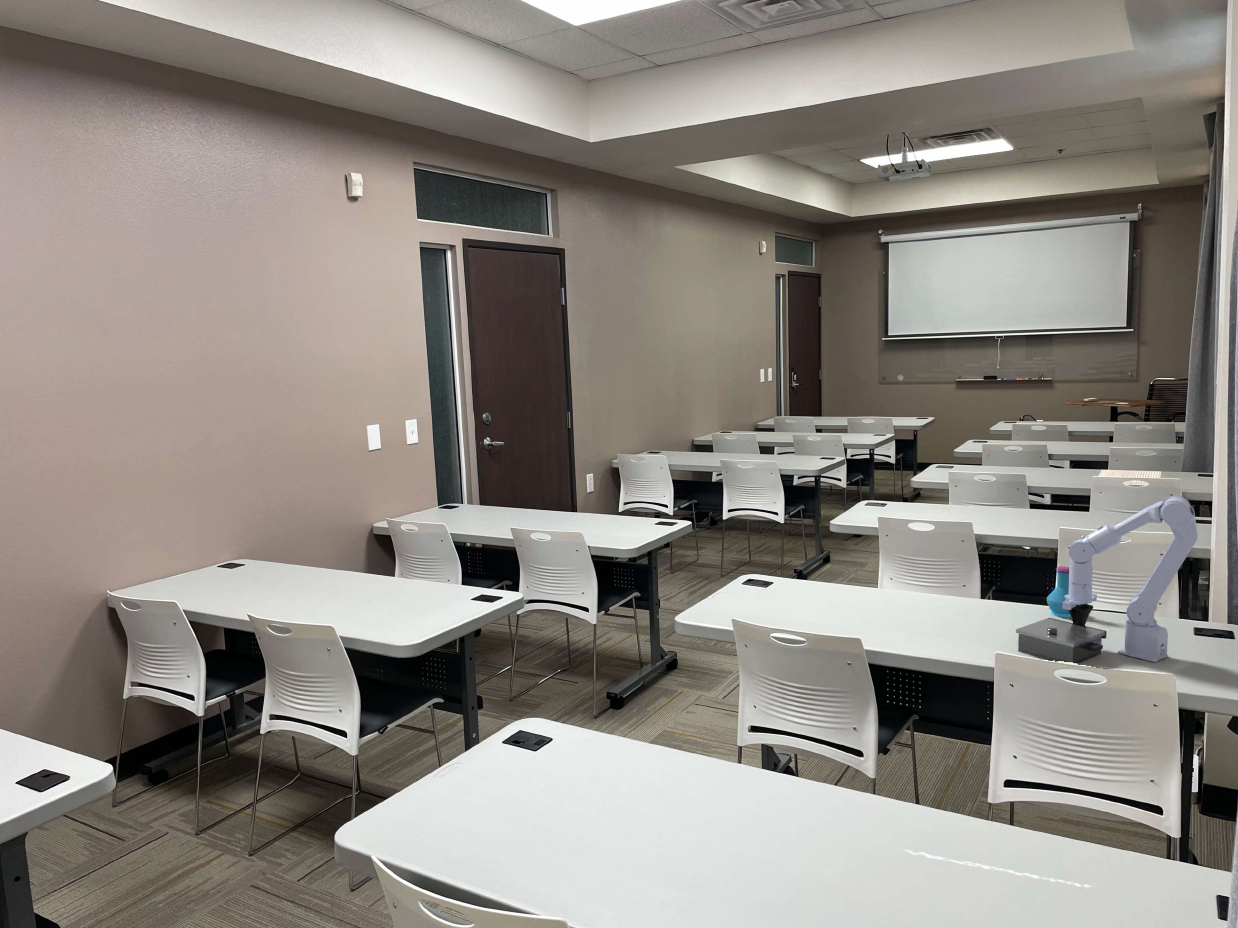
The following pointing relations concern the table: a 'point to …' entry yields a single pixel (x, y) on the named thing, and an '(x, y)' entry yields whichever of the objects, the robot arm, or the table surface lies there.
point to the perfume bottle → (1060, 593)
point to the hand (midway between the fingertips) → (1078, 629)
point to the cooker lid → (1061, 632)
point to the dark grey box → (1059, 649)
